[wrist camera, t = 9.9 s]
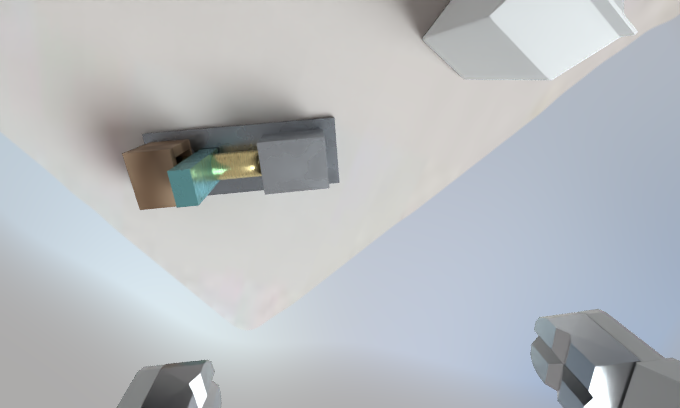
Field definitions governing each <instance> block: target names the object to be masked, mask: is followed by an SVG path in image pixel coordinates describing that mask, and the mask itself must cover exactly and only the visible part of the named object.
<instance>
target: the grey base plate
mask: <svg viewBox="0 0 680 408" xmlns="http://www.w3.org/2000/svg"><path fill="white" fill-rule="evenodd" d="M142 136H143V139H144V143H145V144H147V143H151V142H163V141H174V140H186V139H189V141H190V146H191V150H192V154H194V153H195V152H197V151H198V150H203V149H214V148H217V151H218V153H227V152H238V151H249V150H258V155H259V161H260V167H261V173H262V176H258V177H247V178H237V179H226V180H220V181H219V182H218V183H217V185H216V186H215V187H214V188H213V189H212V190H211V192H210V193H209V194H208V195H217V194H228V193H238V192H248V191H258V190H264V191H265V194H274V193H284V192H294V191H304V190H315V189H325V188H329V184H330V183H339V172H338V159H337V146H336V133H335V120H334V117H331V118H320V119H308V120H296V121H285V122H273V123H261V124H250V125H238V126H226V127H215V128H203V129H191V130H180V131H168V132H156V133H145V134H142Z"/></svg>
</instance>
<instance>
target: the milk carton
mask: <svg viewBox="0 0 680 408" xmlns="http://www.w3.org/2000/svg"><path fill="white" fill-rule="evenodd" d="M636 33H637V30H636V29H635V28H634V26H633V25H632V24H631V22H630V21H629V20H628V19H627V17H626V16H625V15H624V0H451V1H450V2H449V4H448V5H447V6H446V8H445V9H444V10H443V12H442V13H441V14H440V16H439V17H438V18H437V20H436V21H435V22H434V24H433V25H432V26H431V28H430V29H429V30H428V32H427V33H426V34H425V36H424V37H423V41H424V42H425V43H426V44H427V45H428V46H429V47H430V48H431V49H432V50H433V51H434V52H436V53H437V54H438V55H439V56H440V57H441V58H442V59H443V60H444V61H445V62H446V63H447V64H448V65H449V66H450V67H451V68H453V69H454V70H455V71H456V72H457V73H458V74H459V75H460V76H461V77H462V78H463V79H466V80H553V79H554V78H556V77H558V76H559V75H561V74H562V73H564V72H566V71H567V70H569V69H570V68H572V67H574V66H575V65H577V64H578V63H580V62H582V61H583V60H585V59H586V58H588V57H589V56H591V55H593V54H594V53H596V52H597V51H599V50H601V49H602V48H604V47H605V46H607V45H609V44H610V43H612V42H613V41H615V40H616V39H618V38H620V37H624V36H631V35H635V34H636Z"/></svg>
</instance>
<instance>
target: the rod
mask: <svg viewBox="0 0 680 408" xmlns="http://www.w3.org/2000/svg"><path fill="white" fill-rule="evenodd" d="M175 158H176V162H177V165H176V166H174V167H173V168H171V169H170V170H168V171H167V173H168V177H169V181H170V184H171V188H172V192H173V195H174V199H175V203H176V206H177V207H187V206H197V205H199V204H200V203H201V202H202V201H203V200H204V199H205V197H206V196H207V195H208V194H209V193H210V192H211V190H212V189H213V188H214V187H215V186H216V185H217V183H218V182H219V181H220V180H226V179H237V178H247V177H258V176H262V173H261V167H260V161H259V155H258V150H249V151H238V152H227V153H218V151H217V148H214V149H203V150H198V151H197V152H195V153H194V154H192V155H191V156H183V157H175Z"/></svg>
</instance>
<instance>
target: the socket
mask: <svg viewBox="0 0 680 408" xmlns="http://www.w3.org/2000/svg"><path fill="white" fill-rule="evenodd" d="M122 155H123V158H124V161H125V164H126V167H127V171H128V174H129V177H130V180H131V183H132V186H133V190H134V193H135V196H136V199H137V202H138V205H139V208H140V210H145V209H155V208H165V207H175V206H176V203H175V199H174V195H173V192H172V188H171V184H170V181H169V177H168V173H167V171H168V170H170V169H171V168H173V167H174V166H176V165H177V162H176V158H175V157H183V156H191V155H192V150H191V146H190V141H189V139H186V140H174V141H163V142H151V143H147V144H145V145H142V146H140V147H137V148H135V149H132V150H130V151H127V152H125V153H122Z"/></svg>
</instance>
